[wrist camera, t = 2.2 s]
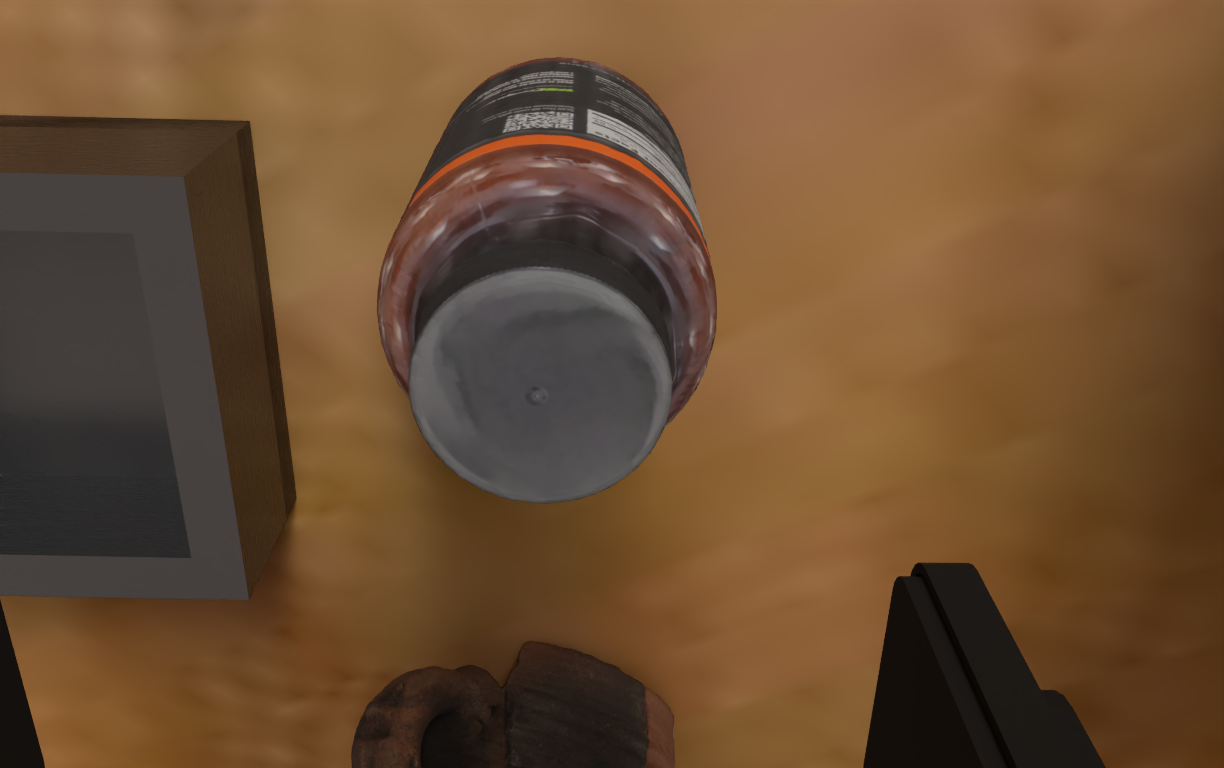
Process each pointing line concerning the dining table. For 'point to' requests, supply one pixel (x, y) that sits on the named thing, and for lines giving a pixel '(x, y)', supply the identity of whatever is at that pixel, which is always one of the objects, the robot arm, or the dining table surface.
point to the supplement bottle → (549, 284)
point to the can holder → (136, 362)
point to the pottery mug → (517, 717)
